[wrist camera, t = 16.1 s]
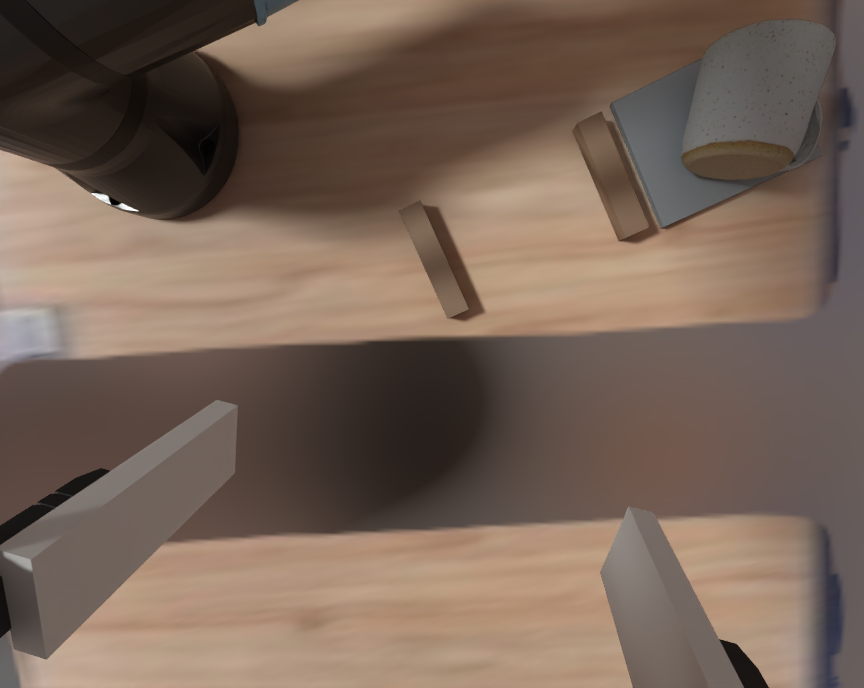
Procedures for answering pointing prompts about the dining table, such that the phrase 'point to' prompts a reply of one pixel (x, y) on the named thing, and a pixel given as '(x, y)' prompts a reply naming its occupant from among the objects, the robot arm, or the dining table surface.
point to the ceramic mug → (758, 100)
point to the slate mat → (671, 148)
